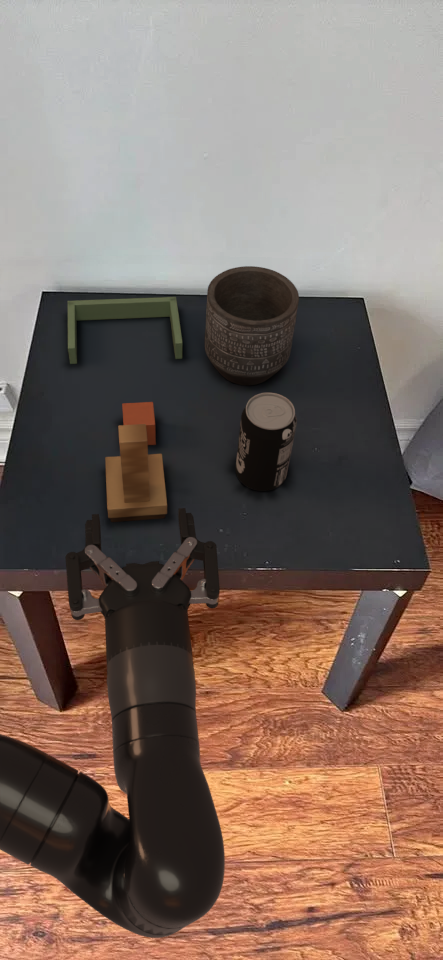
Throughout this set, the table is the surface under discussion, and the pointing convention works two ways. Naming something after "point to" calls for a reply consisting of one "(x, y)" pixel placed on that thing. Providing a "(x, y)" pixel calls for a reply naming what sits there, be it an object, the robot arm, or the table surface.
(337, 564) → the table surface
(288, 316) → the planter
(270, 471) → the beverage can
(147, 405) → the red cube
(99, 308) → the corral
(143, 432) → the stamp
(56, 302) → the table surface
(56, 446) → the table surface
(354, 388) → the table surface
